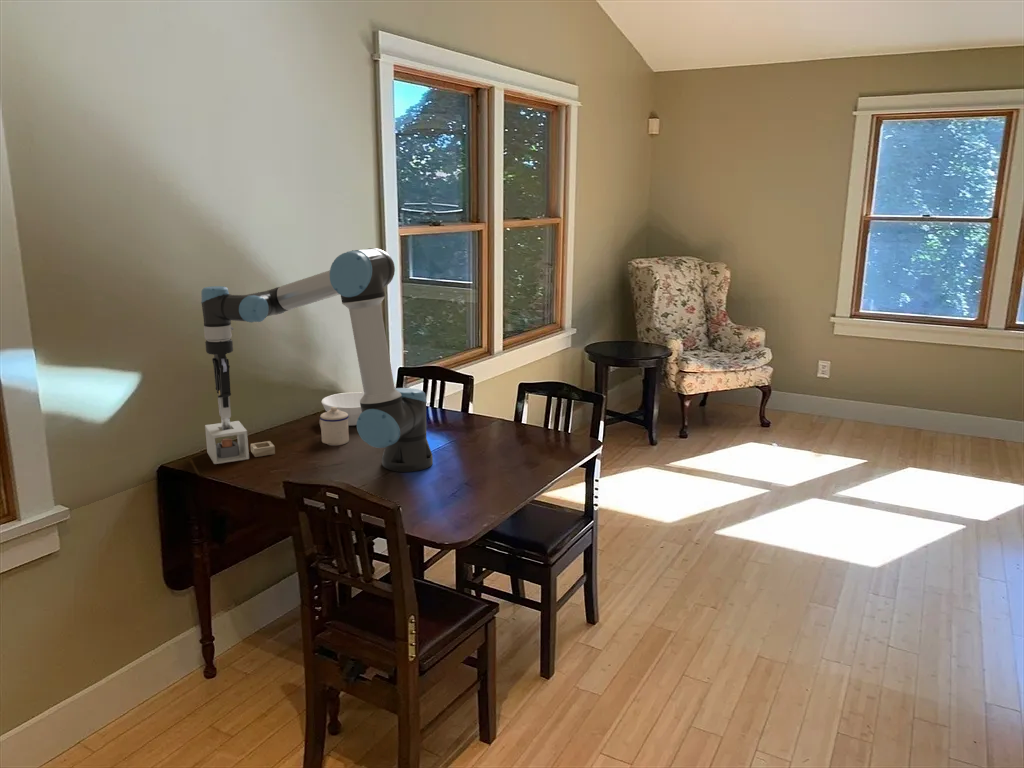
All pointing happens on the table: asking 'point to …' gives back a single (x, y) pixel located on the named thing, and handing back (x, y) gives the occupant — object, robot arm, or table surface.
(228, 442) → the button
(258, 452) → the stylus stand
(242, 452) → the white hollow frame cube
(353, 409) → the bowl
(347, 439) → the teacup with lid
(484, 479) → the table surface
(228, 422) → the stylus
